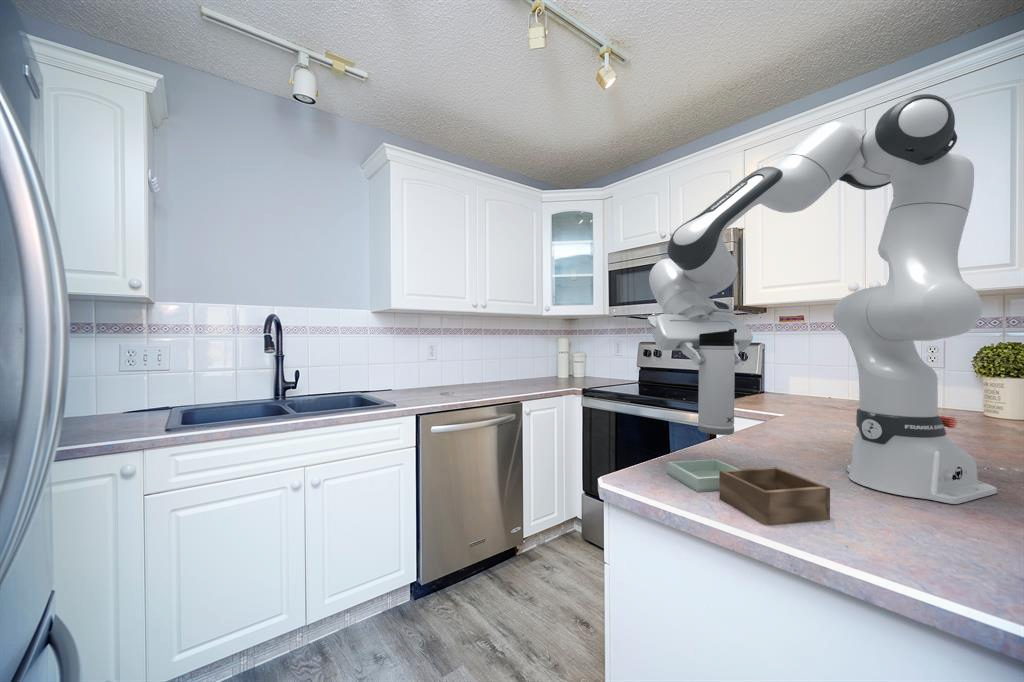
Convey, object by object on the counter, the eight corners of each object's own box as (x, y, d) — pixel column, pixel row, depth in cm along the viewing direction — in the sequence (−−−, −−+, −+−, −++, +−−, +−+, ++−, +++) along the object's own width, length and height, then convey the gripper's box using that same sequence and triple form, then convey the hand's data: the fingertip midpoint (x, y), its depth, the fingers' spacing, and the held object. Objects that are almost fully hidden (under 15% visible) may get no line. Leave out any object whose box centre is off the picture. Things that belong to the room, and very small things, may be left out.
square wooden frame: (776, 494, 76) (776, 467, 75) (829, 519, 65) (830, 487, 65) (719, 498, 74) (719, 470, 74) (765, 525, 63) (765, 492, 63)
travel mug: (740, 436, 76) (741, 328, 76) (702, 434, 78) (703, 328, 78) (730, 429, 82) (731, 329, 82) (695, 427, 84) (695, 329, 84)
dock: (716, 470, 89) (716, 458, 89) (752, 488, 79) (752, 475, 79) (667, 473, 87) (666, 461, 87) (697, 492, 77) (697, 478, 77)
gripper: (650, 302, 85) (676, 351, 75) (737, 304, 89) (773, 352, 79) (639, 324, 89) (662, 373, 80) (723, 326, 93) (755, 373, 83)
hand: (718, 362), depth 79 cm, fingers closed on travel mug, 6 cm apart
